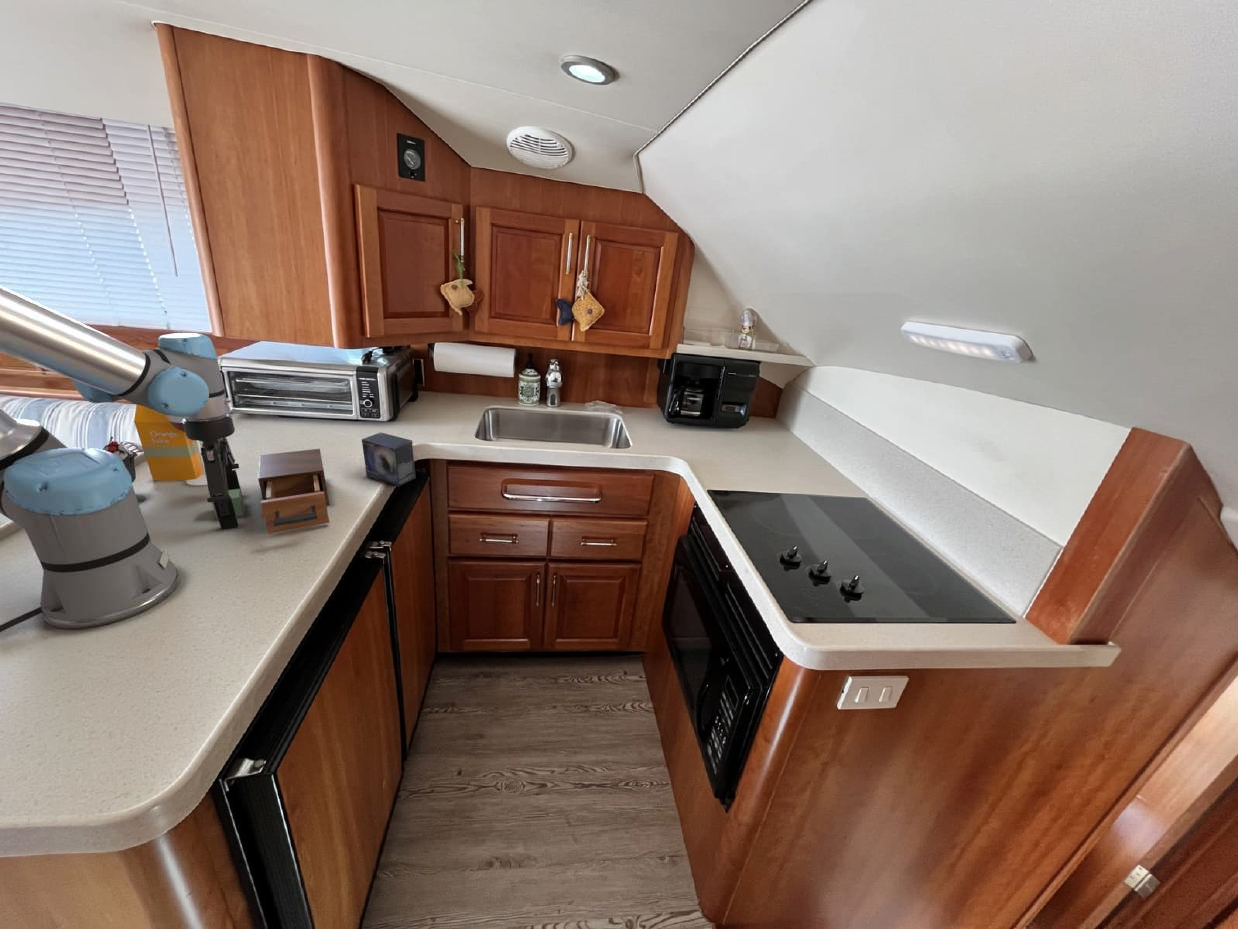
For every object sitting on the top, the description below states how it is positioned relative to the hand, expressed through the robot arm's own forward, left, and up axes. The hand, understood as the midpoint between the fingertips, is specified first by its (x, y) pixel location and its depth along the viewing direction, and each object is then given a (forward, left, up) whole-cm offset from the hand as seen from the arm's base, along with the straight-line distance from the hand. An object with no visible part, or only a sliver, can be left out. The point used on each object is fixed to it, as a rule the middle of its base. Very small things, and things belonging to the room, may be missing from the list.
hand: (232, 512), depth 103 cm
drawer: (+12, -10, +1) cm, 16 cm away
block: (0, 0, 0) cm, 0 cm away
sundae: (-18, +14, 0) cm, 23 cm away
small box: (+32, +6, 0) cm, 32 cm away
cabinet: (+12, +3, 0) cm, 12 cm away
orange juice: (-11, +26, 0) cm, 28 cm away
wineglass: (-6, +21, 0) cm, 22 cm away
